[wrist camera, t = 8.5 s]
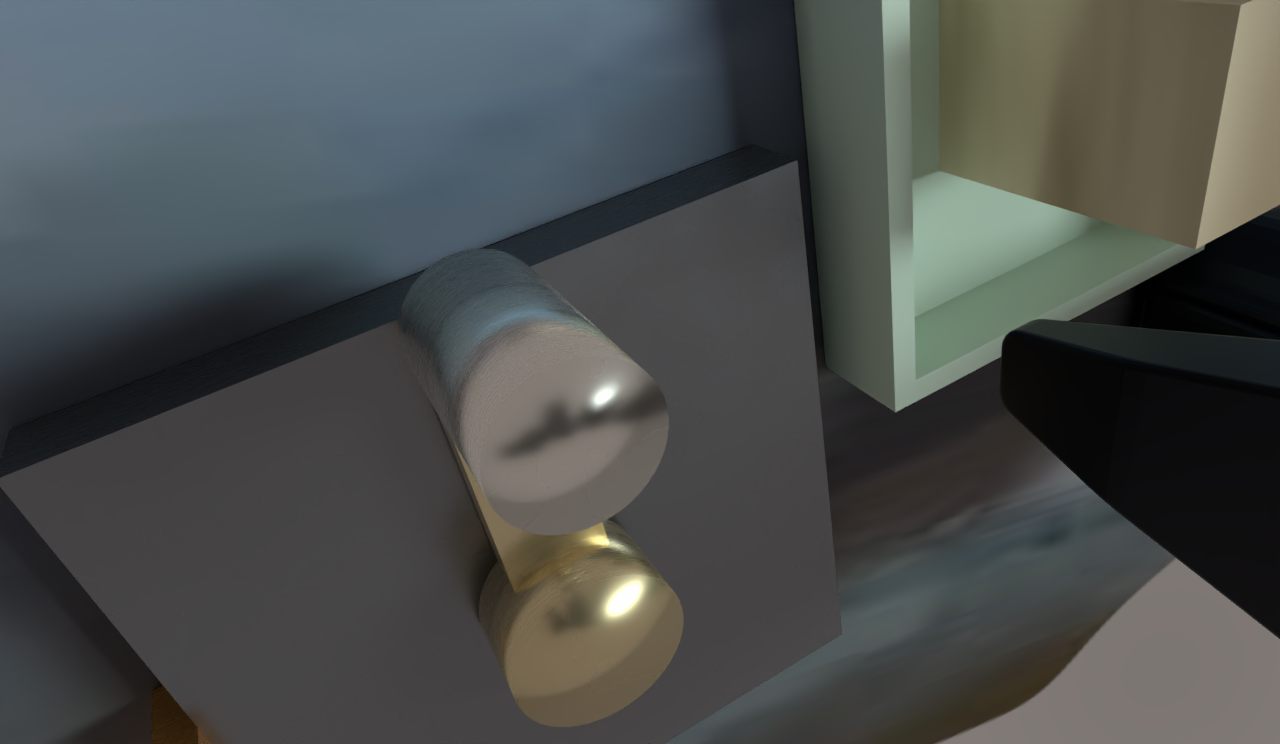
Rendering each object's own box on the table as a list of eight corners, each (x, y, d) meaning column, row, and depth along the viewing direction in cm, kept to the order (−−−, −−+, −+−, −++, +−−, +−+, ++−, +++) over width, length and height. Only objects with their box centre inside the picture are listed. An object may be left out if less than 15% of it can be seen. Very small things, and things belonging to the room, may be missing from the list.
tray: (1189, -328, 17) (1323, -362, 15) (1117, 222, 24) (1204, 249, 22) (773, -234, 14) (873, -261, 12) (825, 366, 21) (895, 412, 19)
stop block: (1080, -66, 18) (1405, -64, 13) (1065, 115, 20) (1340, 172, 16) (939, -16, 17) (1240, 5, 12) (939, 171, 19) (1195, 249, 14)
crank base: (753, 144, 17) (813, 165, 16) (809, 600, 25) (853, 645, 23) (-48, 452, 13) (-76, 525, 11) (318, 890, 20) (332, 970, 19)
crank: (651, 604, 19) (780, 779, 15) (507, 684, 18) (605, 895, 14) (538, 196, 14) (693, 303, 10) (322, 276, 13) (396, 433, 9)
